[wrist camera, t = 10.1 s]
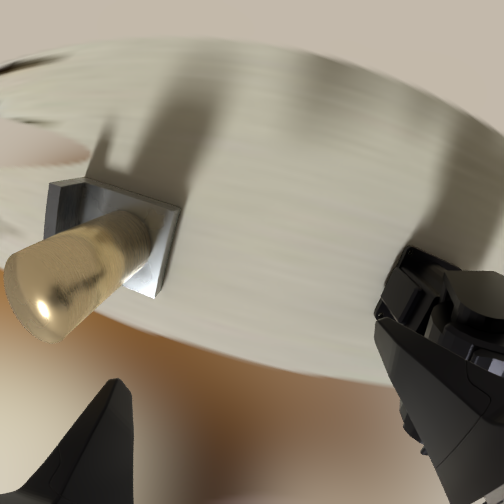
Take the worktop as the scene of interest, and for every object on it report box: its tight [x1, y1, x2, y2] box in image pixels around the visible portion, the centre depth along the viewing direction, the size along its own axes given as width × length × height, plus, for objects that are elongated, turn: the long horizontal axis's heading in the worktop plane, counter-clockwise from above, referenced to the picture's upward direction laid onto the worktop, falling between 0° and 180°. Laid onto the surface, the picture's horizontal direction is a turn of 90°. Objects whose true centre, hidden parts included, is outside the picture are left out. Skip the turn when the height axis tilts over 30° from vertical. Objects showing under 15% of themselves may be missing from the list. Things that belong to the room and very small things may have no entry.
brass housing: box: [4, 211, 151, 343], centre depth 16 cm, size 5×5×10 cm
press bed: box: [43, 177, 181, 298], centre depth 20 cm, size 9×7×4 cm
